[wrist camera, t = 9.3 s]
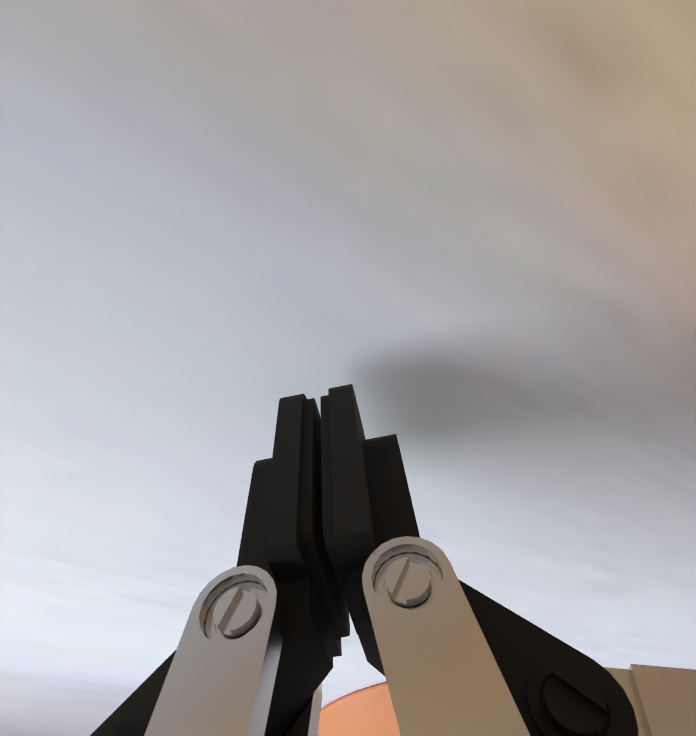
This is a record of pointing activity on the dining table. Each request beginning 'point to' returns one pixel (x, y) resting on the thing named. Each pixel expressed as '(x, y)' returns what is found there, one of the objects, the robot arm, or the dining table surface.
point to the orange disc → (360, 714)
